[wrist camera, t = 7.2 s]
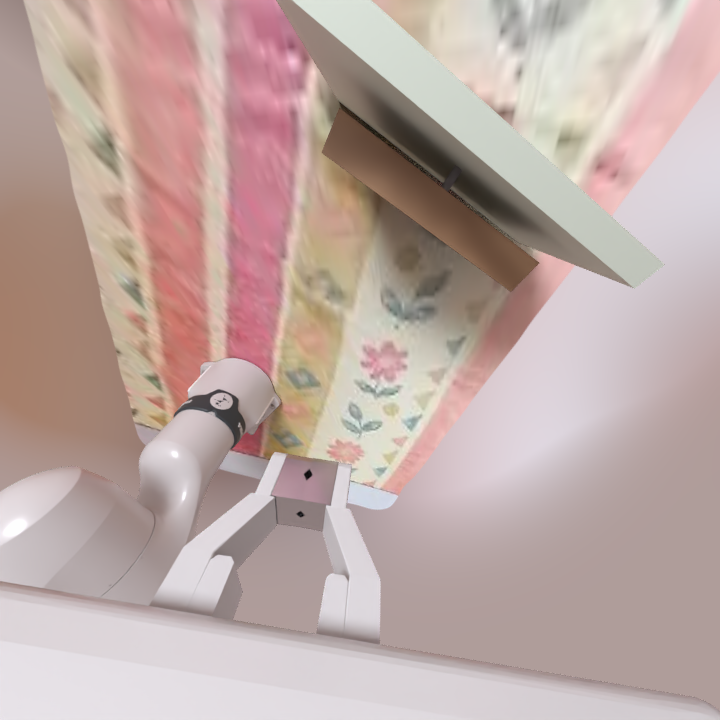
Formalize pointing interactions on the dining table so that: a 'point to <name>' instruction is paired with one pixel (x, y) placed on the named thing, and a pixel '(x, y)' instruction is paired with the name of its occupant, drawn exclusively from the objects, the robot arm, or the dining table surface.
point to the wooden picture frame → (425, 201)
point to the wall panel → (460, 138)
